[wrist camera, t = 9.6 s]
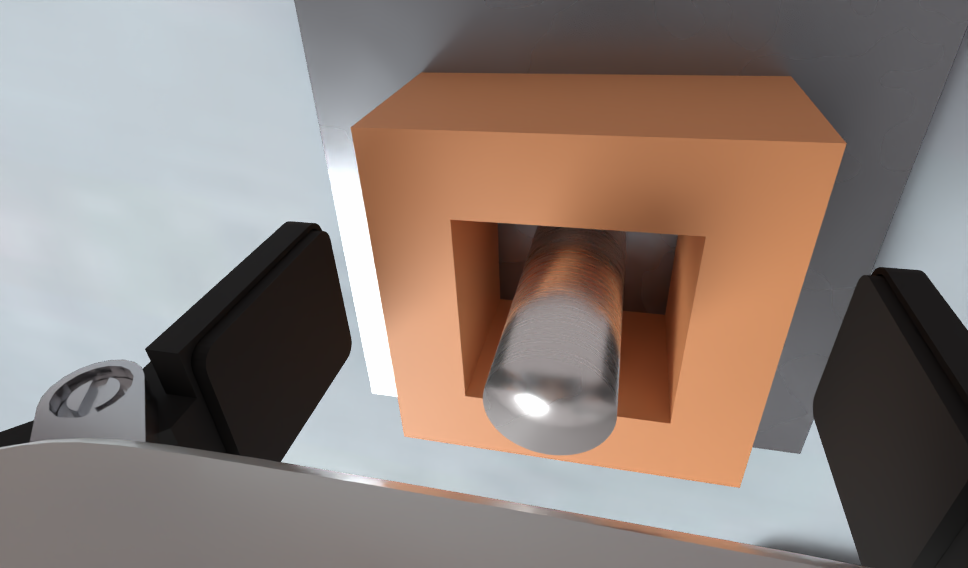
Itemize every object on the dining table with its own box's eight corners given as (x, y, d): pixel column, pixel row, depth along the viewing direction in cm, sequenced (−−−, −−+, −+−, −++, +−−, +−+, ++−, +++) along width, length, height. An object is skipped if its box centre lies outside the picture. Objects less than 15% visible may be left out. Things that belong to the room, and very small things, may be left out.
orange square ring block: (790, 76, 10) (846, 143, 8) (720, 370, 14) (739, 487, 11) (421, 72, 12) (350, 127, 9) (447, 339, 16) (404, 436, 13)
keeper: (983, -97, 9) (1424, -88, 4) (792, 425, 16) (864, 687, 11) (305, -70, 12) (32, -44, 7) (384, 371, 18) (279, 561, 13)
